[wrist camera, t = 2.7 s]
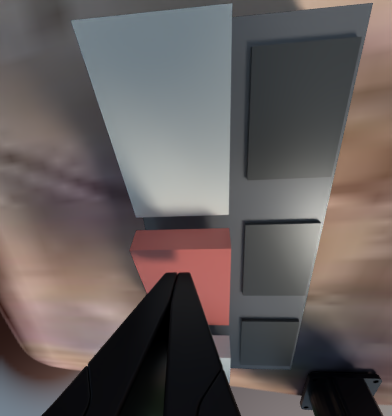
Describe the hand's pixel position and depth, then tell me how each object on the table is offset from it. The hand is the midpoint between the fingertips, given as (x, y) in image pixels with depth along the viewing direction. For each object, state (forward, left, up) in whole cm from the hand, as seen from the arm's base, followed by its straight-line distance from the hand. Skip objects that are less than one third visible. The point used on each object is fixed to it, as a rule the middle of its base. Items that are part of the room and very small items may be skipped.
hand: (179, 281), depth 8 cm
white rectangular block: (+5, 0, -2) cm, 5 cm away
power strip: (-2, -2, -7) cm, 8 cm away
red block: (-2, 0, -2) cm, 3 cm away
